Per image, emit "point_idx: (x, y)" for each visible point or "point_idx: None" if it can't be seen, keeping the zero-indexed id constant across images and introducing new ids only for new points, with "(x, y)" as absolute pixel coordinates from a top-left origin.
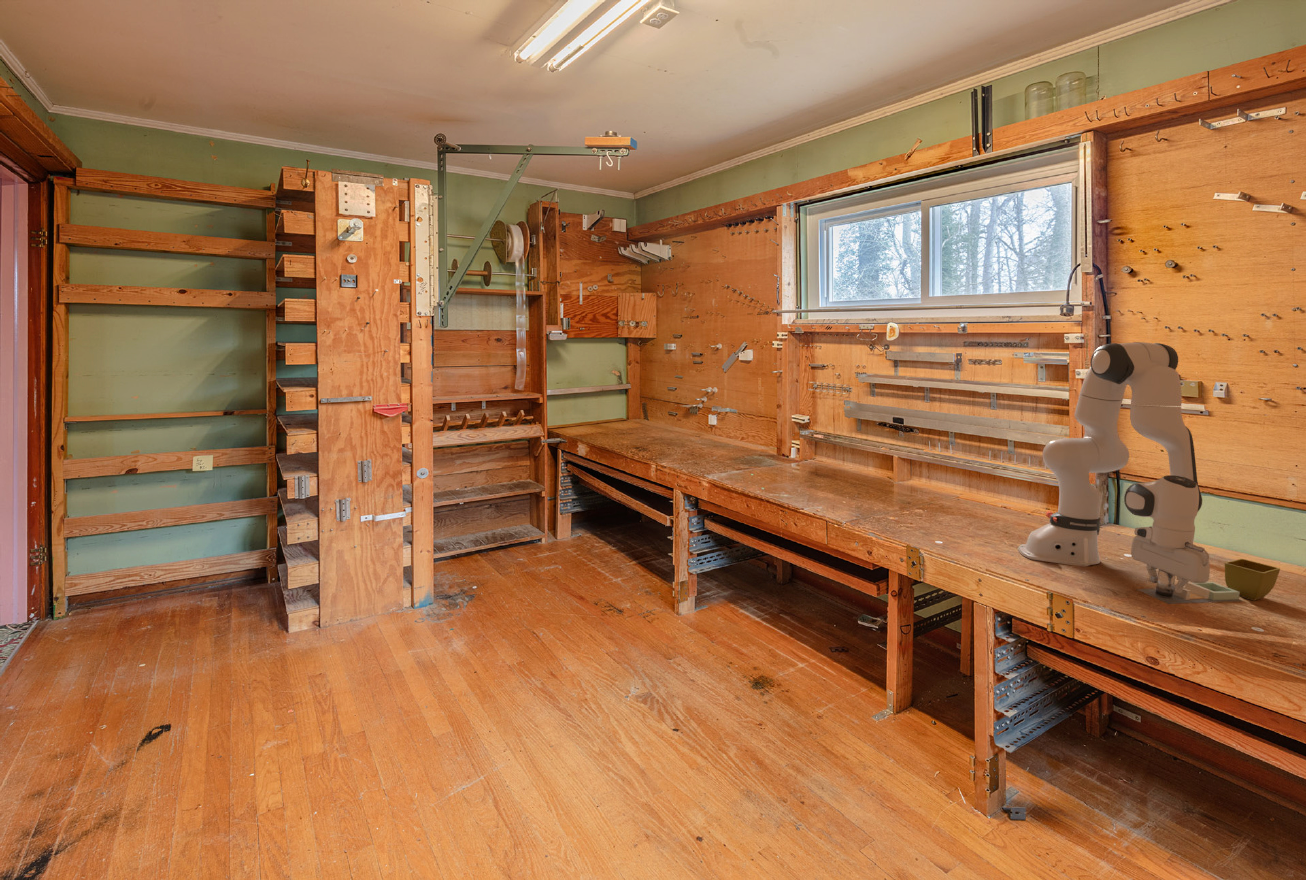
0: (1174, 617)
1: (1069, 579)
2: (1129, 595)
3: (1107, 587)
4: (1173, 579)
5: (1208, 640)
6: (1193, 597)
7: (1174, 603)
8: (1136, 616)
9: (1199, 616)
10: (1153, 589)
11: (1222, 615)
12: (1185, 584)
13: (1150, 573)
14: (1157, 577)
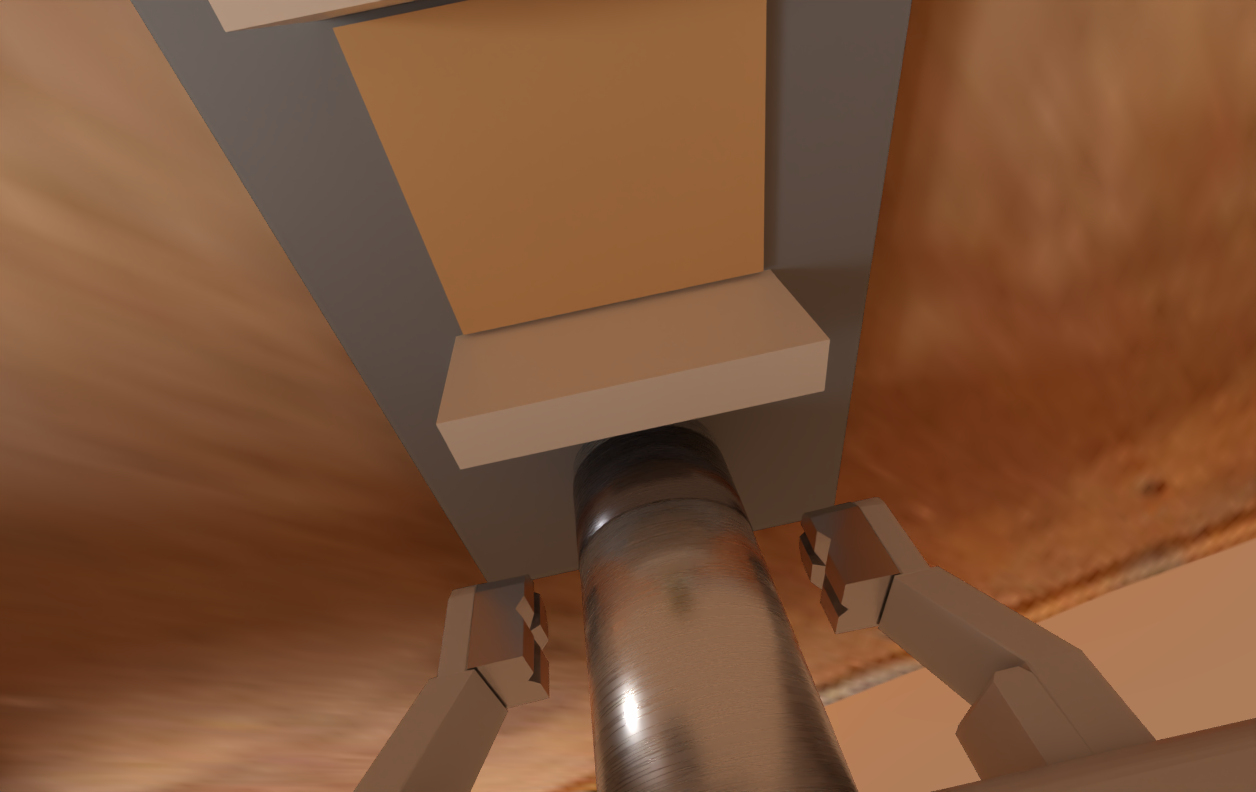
0: (967, 524)
1: (323, 755)
2: (569, 602)
3: (415, 658)
4: (807, 671)
5: (1242, 513)
6: (724, 163)
7: (837, 473)
8: (886, 651)
9: (1036, 364)
10: (445, 472)
11: (1155, 80)
12: (987, 597)
13: (489, 749)
14: (536, 666)
